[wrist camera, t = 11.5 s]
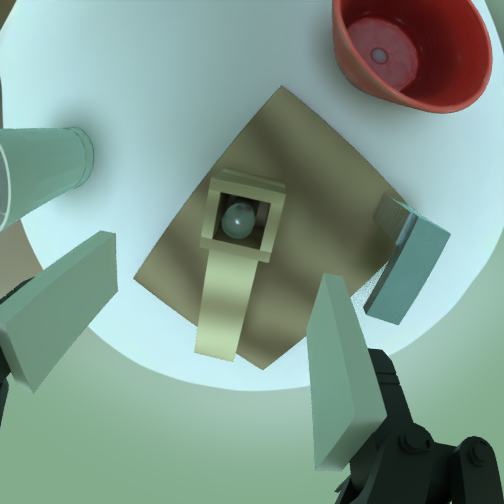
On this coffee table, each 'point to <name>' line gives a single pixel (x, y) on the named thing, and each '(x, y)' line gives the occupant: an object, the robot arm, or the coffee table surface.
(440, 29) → the flower pot
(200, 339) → the link
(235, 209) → the pin
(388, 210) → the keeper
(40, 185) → the cup
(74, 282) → the robot arm
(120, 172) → the coffee table surface
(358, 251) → the board
